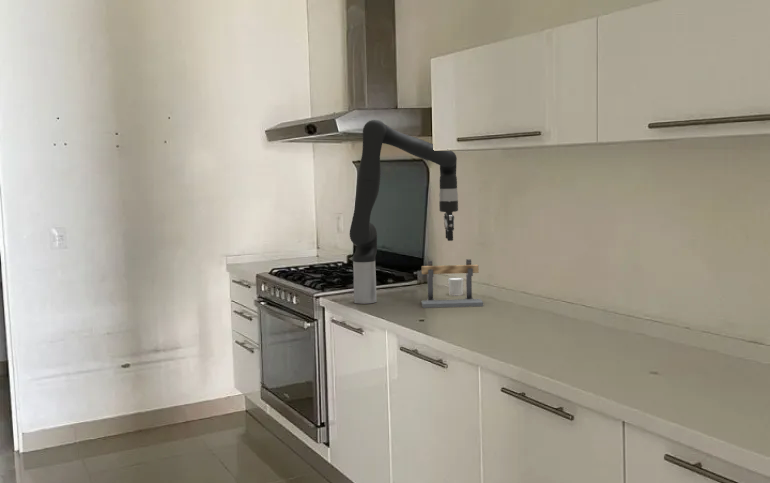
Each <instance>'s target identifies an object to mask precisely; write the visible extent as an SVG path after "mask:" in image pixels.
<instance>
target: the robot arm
mask: <svg viewBox="0 0 770 483" xmlns="http://www.w3.org/2000/svg"><path fill="white" fill-rule="evenodd" d="M384 144H385V145H388V146H392V147H394V148H397V149H399V150H402V151H404V152H406V153H408V154H410V155H412V156H414V157H417V158H419V159H422V160H425V161H430V162H432V163H435V164H436V165H438V166H439V171H440V172H439V173H440V174H439V191H438V192H439V194H438V197H439V212H440V213H444V216H443V220H444V221H443V224H444V229H445V239H447V241H448V242H453V241H454V230H455V216H454V215H453V213H454V212H455V213H456V212H458V211H459V194H458V181H457V180H458V178H457V164H458V163H457V160H458V159H457V155H456V153H455V152H454V151H453V150H450V151H434V150H433V144H434V143H431V142H429V141H426V140H424V139H421V138H419V137H415V136H411V135H409V134H405V133H403V132H401V131H398V130H396V129H394V128H392V127H390V126H388V125H387V124H385V123H384V122H383V121H381V120H379V119H371V120H369V121H367V122H366V123H365V124H364V126H363V129H362V153H361V158H360V163H359V168H358V174H357V181H356V193H355V201H354V207H353V208H354V210H353V215H352V220H351V222H350V223H351V225H350V228H349V238H350V240H351V242H352V243H353V244H354V245H355V246H356V248H355V252H354V253H353V256H352V266H353V270H352V271H353V303H354V304H362V305H364V304H365V305H366V304H373V303H377V275H376V274H377V273H376V271H377V268H376V257H377V256H376V255H377V254H378V253H377V252H378V233H377V229H376V227H375V225H374V224H373V223H372V222H371V215H372V211H373V207H374V205H375V203H376V201H377V198H378V195H379V192H380V191H379V190H380V185H381V173H382V172H381V152H382V146H383V145H384Z"/></svg>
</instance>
